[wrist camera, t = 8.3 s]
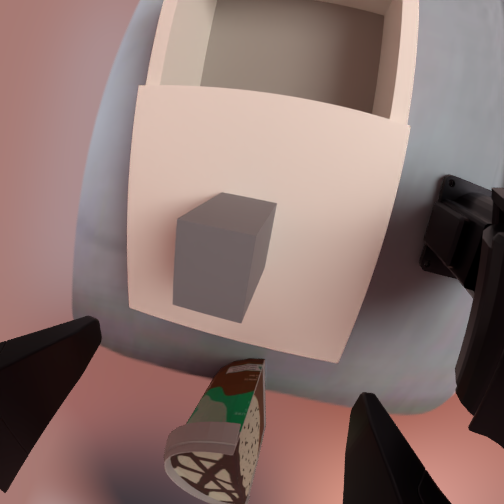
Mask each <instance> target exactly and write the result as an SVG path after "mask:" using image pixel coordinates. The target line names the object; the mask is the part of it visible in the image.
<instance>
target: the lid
mask: <svg viewBox="0 0 504 504" xmlns="http://www.w3.org/2000/svg"><path fill="white" fill-rule="evenodd" d="M410 127H411V126H409V125H406V124H403V123H400V122H397V121H394V120H390V119H387V118H384V117H380V116H377V115H373V114H370V113H366V112H362V111H358V110H354V109H350V108H346V107H342V106H338V105H333V104H329V103H324V102H319V101H314V100H309V99H304V98H298V97H292V96H286V95H280V94H273V93H266V92H258V91H250V90H241V89H231V88H219V87H204V86H182V85H139V88H138V95H137V102H136V109H135V117H134V125H133V134H132V144H131V155H130V168H129V185H128V208H127V270H128V294H129V308H132V309H135V310H137V311H140V312H143V313H146V314H149V315H152V316H155V317H158V318H161V319H164V320H168V321H171V322H174V323H177V324H180V325H184V326H187V327H190V328H193V329H197V330H200V331H204V332H207V333H211V334H214V335H218V336H221V337H225V338H229V339H232V340H236V341H240V342H244V343H248V344H252V345H256V346H260V347H264V348H268V349H272V350H276V351H281V352H285V353H290V354H294V355H299V356H303V357H308V358H313V359H318V360H323V361H328V362H333V363H338V362H339V360H340V357H341V355H342V353H343V350H344V348H345V346H346V343H347V341H348V339H349V336H350V334H351V331H352V329H353V326H354V324H355V321H356V319H357V316H358V313H359V311H360V308H361V305H362V303H363V300H364V297H365V295H366V292H367V289H368V286H369V283H370V280H371V278H372V275H373V272H374V269H375V266H376V263H377V259H378V256H379V253H380V250H381V247H382V244H383V240H384V237H385V234H386V230H387V227H388V223H389V220H390V216H391V212H392V209H393V205H394V201H395V197H396V193H397V189H398V185H399V181H400V176H401V172H402V168H403V163H404V158H405V154H406V149H407V144H408V138H409V133H410Z"/></svg>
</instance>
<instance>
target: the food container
mask: <svg viewBox="0 0 504 504" xmlns="http://www.w3.org/2000/svg"><path fill="white" fill-rule="evenodd" d="M265 407H266V406H265V359H246V360H240V361H234V362H232V363H230V364H228V365H226V366H224V367H222V368H221V369H220V370H219V372H218V373H217V374H216V375H215V376H214V378H213V380H212V381H211V383H210V385H209V386H208V388H207V390H206V392H205V393H204V395H203V397H202V399H201V400H200V402H199V403H198V405H197V407H196V408H195V410H194V412H193V414H192V415H191V417H190V419H189V420H188V422H187V423H186V425H183V426H180V427H178V428H176V429H175V430H173V431H172V432H171V433H170V435H169V436H168V439H167V443H166V448H165V452H164V462H165V463H164V468H165V471H166V473H167V474H168V476H169V477H170V479H171V480H172V481H173V482H174V483H175V484H177V485H178V486H179V487H180V488H182V489H183V490H185V491H186V492H188V493H189V494H191V495H193V496H195V497H197V498H199V499H201V500H203V501H205V502H208V503H210V504H248V501H249V498H250V496H249V494H250V490H251V486H252V482H253V478H254V474H255V470H256V466H257V462H258V458H259V453H260V449H261V444H262V440H263V436H264V431H265V427H266V411H265V410H266V408H265Z"/></svg>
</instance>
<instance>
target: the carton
mask: <svg viewBox="0 0 504 504" xmlns="http://www.w3.org/2000/svg"><path fill="white" fill-rule="evenodd" d="M418 21H419V0H164V2H163V5H162V9H161V13H160V17H159V21H158V26H157V30H156V34H155V39H154V43H153V48H152V53H151V58H150V64H149V69H148V75H147V81H146V85H182V86H204V87H219V88H231V89H241V90H250V91H258V92H266V93H273V94H280V95H286V96H292V97H298V98H304V99H309V100H314V101H319V102H324V103H329V104H333V105H338V106H342V107H346V108H350V109H354V110H358V111H362V112H366V113H370V114H373V115H377V116H380V117H384V118H387V119H390V120H394V121H397V122H400V123H403V124H406V125H407V122H408V116H409V109H410V103H411V96H412V89H413V81H414V72H415V63H416V52H417V39H418Z"/></svg>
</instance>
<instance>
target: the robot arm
mask: <svg viewBox="0 0 504 504" xmlns="http://www.w3.org/2000/svg"><path fill="white" fill-rule="evenodd" d="M451 179H452V181H453V184H452V186H449V181H450V180H451ZM424 241H425V246H424V249H423V252H422V255H421V257H420V261H419V264H420V266H421V268H422V269H423V270H425V271H428V272H432V273H436V274H440V275H444V276H448V277H452V278H455V279H458V280H459V282H460V283H461V284H462V285H463V286H464V288H465V289H466V290H467V291H468V293H469V294H470V295H471V296H472V298H473V303H472V308H471V312H470V317H469V321H468V325H467V329H466V333H465V337H464V340H463V344H462V347H461V351H460V354H459V357H458V361H457V364H456V367H455V375H456V384H457V387H456V394H457V396H458V398H459V400H460V401H461V403H462V404H463V406H464V407H465V408H466V409H467V410H468V411H469V412H470V413H471V414H472V415H473V416H474V417H473V419H472V421H471V423H470V425H469V427H468V428H469V430H470V431H472V432H475V433H478V434H481V435H484V436H487V437H488V438H490V439H491V440H493V441H495V442H496V443H498V444H499V445H501V446H502V447H503V448H504V188H492V191H490V190H488V189H485V188H483V187H481V186H478V185H476V184H473V183H471V182H468V181H466V180H463V179H461V178H458V177H456V176H453V175H446V176H445V177H444V179H443V183H442V187H441V191H440V195H439V199H438V202H436V203H435V204H434V207H433V211H432V214H431V218H430V221H429V224H428V228H427V231H426V234H425V237H424ZM427 260H429V263H428V264H427V265H424V263H425V261H427ZM101 339H102V336H101V330H100V324H99V321H98V319H96V318H94V317H91V316H85V317H82V318H79V319H76V320H72V321H70V322H66V323H63V324H60V325H56V326H53V327H51V328H47V329H43V330H41V331H37V332H34V333H31V334H27V335H24V336H21V337H17V338H14V339H11V340H8V341H7V342H6V341H4V342H1V343H0V489H1V490H2V491H3V492H4V493H6V492H7V490H8V489H9V487H10V485H11V483H12V482H13V480H14V478H15V476H16V475H17V473H18V471H19V470H20V468H21V466H22V465H23V463H24V462H25V460H26V458H27V457H28V454H29V453H30V452H31V450H32V448H33V447H34V445H35V444H36V442H37V441H38V439H39V438H40V436H41V434H42V433H43V431H44V430H45V428H46V427H47V425H48V424H49V422H50V421H51V419H52V418H53V416H54V415H55V413H56V412H57V410H58V409H59V407H60V406H61V404H62V403H63V402H64V400H65V399H66V397H67V396H68V394H69V393H70V391H71V390H72V389H73V387H74V386H75V384H76V383H77V382H78V380H79V379H80V377H81V376H82V374H83V373H84V371H85V369H86V367H87V366H88V364H89V362H90V360H91V358H92V357H93V355H94V353H95V352H96V350H97V348H98V346H99V345H100V343H101ZM343 504H451V503H450V501H449V500H448V499H447V498H446V496H445V495H444V494H443V493H442V491H441V490H440V489H439V487H438V486H437V485H436V483H435V482H434V481H433V479H432V478H431V476H430V475H429V473H428V472H427V471H426V470H425V467H424V466H423V464H422V463H421V461H420V460H419V458H418V457H417V455H416V454H415V453H414V451H413V449H412V448H411V447H410V445H409V443H408V442H407V440H406V439H405V437H404V436H403V435H402V433H401V432H400V430H399V429H398V427H397V426H396V424H395V423H394V421H393V420H392V419H391V417H390V416H389V414H388V413H387V411H386V410H385V408H384V407H383V405H382V404H381V402H380V401H379V400H378V398H377V397H376V395H375V394H373V393H367V392H363V393H361V394H360V396H359V397H358V399H357V401H356V403H355V404H354V406H353V408H352V410H351V414H350V422H349V430H348V437H347V444H346V452H345V473H344V492H343Z"/></svg>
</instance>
